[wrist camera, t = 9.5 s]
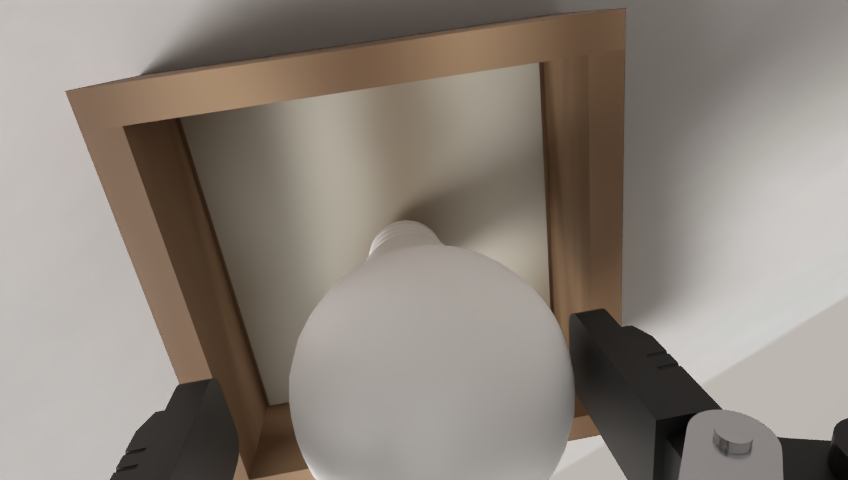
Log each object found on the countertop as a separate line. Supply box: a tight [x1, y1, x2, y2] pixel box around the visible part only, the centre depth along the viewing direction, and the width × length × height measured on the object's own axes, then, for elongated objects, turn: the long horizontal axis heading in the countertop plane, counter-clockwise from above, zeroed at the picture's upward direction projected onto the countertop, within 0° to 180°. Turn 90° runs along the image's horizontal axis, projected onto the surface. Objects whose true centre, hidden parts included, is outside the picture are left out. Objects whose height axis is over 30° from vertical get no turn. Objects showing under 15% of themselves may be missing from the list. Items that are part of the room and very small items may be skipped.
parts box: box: [65, 8, 626, 480], centre depth 18 cm, size 14×14×4 cm
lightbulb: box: [289, 220, 575, 480], centre depth 14 cm, size 6×6×11 cm
